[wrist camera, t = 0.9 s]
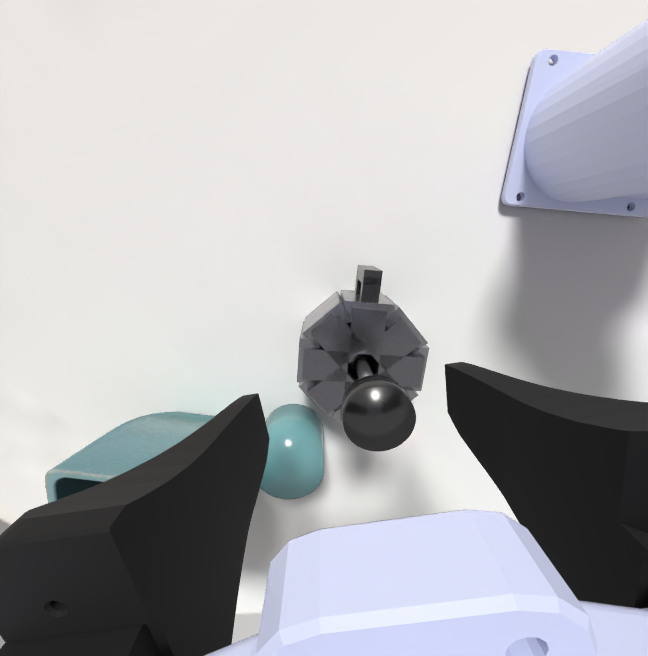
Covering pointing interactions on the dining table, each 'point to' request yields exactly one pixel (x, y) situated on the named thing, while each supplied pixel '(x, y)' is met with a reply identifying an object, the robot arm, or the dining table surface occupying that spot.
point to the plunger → (376, 410)
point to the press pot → (358, 343)
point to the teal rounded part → (293, 452)
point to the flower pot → (120, 451)
